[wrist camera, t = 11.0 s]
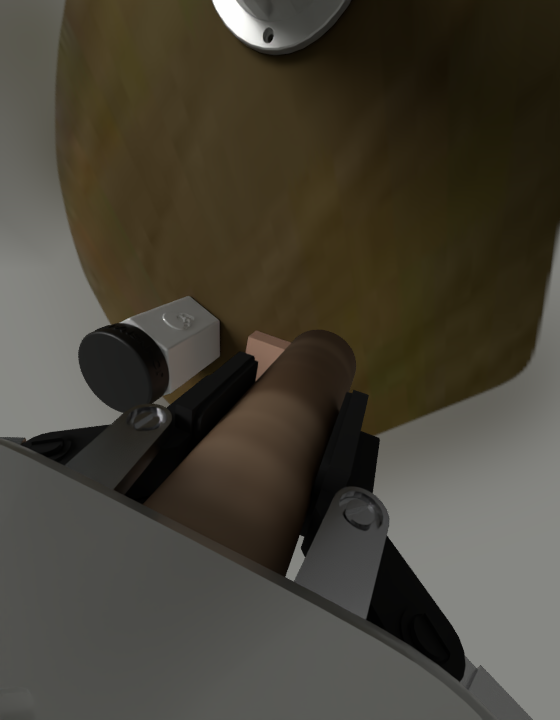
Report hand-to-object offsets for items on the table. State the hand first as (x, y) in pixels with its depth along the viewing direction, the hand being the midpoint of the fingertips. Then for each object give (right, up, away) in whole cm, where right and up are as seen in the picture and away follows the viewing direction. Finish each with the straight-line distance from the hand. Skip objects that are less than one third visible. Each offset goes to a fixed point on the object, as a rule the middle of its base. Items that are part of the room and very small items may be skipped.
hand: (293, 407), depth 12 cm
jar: (-11, +5, +27) cm, 30 cm away
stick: (+1, +2, +4) cm, 4 cm away
